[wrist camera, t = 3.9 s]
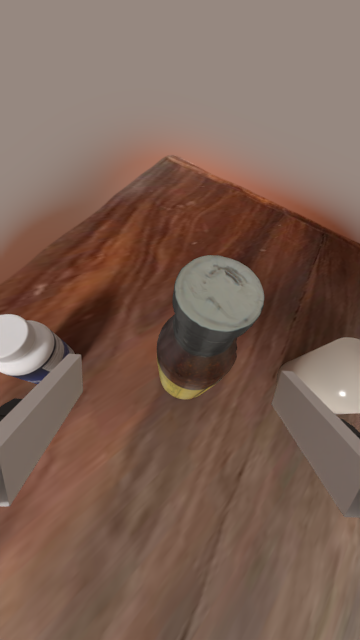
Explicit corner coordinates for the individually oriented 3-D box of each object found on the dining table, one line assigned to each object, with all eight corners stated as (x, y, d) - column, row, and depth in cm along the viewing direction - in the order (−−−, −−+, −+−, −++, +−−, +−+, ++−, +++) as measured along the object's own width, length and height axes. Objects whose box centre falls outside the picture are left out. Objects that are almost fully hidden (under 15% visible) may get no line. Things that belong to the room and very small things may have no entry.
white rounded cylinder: (287, 350, 30) (335, 324, 22) (333, 379, 29) (403, 363, 21) (268, 393, 27) (316, 381, 19) (319, 427, 26) (394, 429, 18)
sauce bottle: (199, 347, 29) (267, 227, 11) (213, 394, 26) (331, 335, 8) (152, 357, 27) (143, 240, 10) (162, 407, 25) (175, 372, 7)
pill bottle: (20, 379, 25) (-54, 357, 16) (44, 339, 27) (-10, 299, 18) (63, 391, 25) (12, 375, 16) (83, 349, 27) (49, 315, 18)
